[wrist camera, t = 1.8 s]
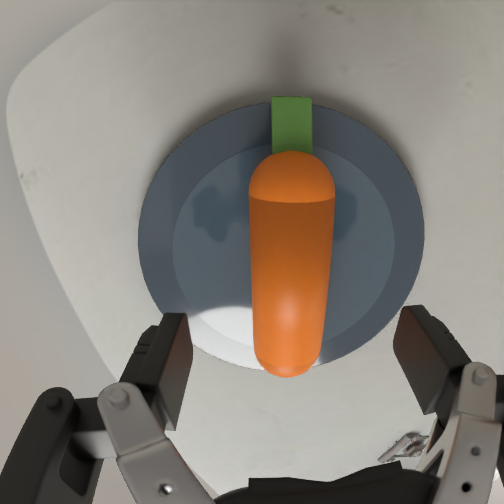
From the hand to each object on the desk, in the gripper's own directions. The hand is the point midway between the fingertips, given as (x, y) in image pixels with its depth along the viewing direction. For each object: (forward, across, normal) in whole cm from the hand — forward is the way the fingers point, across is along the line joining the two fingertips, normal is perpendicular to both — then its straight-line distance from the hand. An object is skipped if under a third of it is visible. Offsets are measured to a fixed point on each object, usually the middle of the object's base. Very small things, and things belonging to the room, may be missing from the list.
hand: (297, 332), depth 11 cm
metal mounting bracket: (+7, -12, +26) cm, 29 cm away
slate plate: (+6, 0, 0) cm, 6 cm away
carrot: (+6, 0, -1) cm, 6 cm away
